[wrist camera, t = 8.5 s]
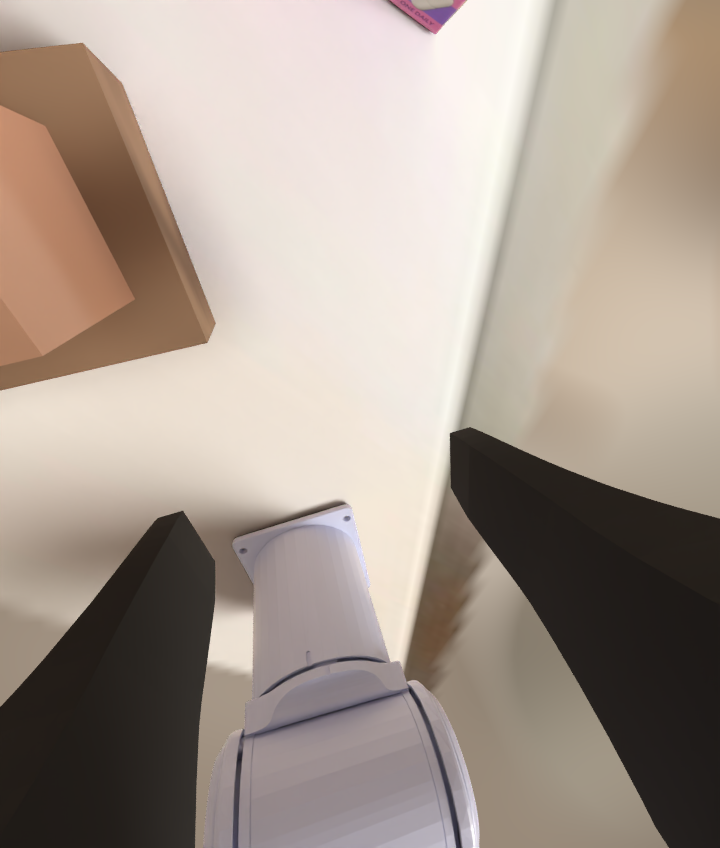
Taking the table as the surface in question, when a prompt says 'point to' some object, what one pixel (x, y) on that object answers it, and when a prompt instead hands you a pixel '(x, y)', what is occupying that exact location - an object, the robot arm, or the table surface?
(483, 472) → the robot arm
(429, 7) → the box
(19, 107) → the walnut slab
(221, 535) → the table surface
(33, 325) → the peach cube
